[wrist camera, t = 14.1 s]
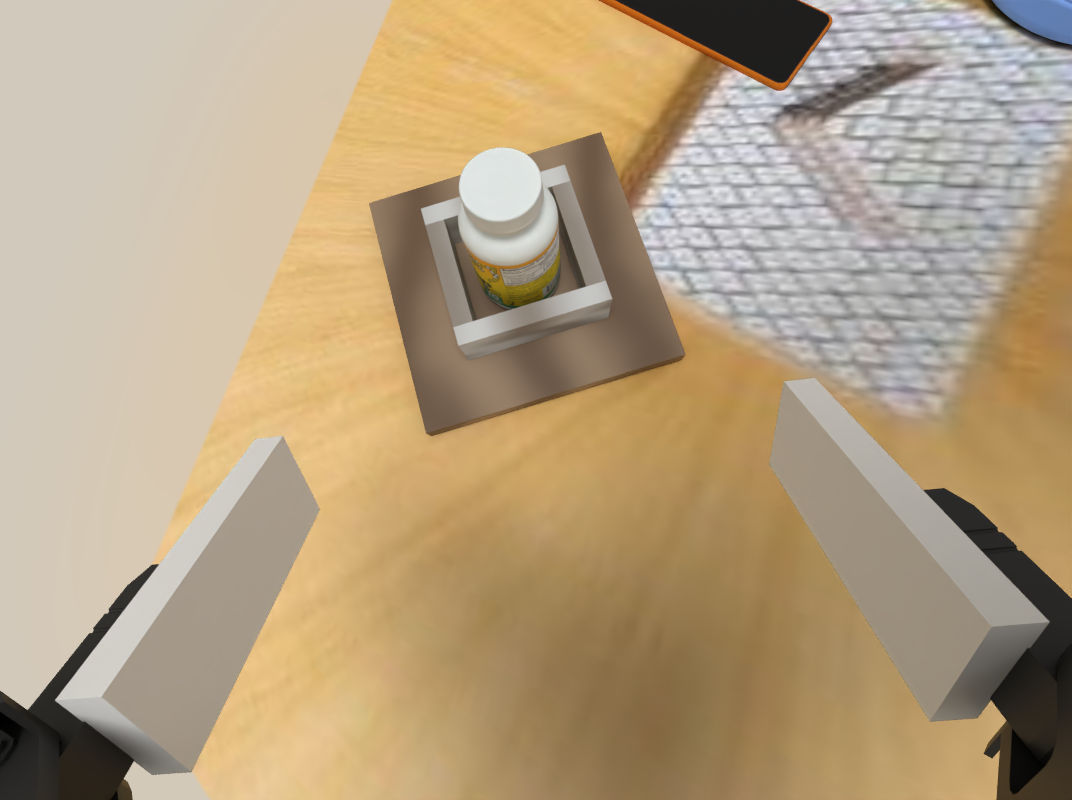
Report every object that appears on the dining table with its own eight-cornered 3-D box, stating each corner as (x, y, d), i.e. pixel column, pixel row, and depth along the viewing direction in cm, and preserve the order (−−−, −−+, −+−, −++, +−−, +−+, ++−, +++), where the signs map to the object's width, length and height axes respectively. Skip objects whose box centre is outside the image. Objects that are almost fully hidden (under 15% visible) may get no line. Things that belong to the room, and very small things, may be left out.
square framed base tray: (599, 144, 36) (603, 97, 31) (681, 359, 32) (697, 338, 28) (375, 213, 36) (350, 175, 32) (431, 435, 32) (411, 426, 28)
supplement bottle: (570, 300, 32) (570, 217, 23) (491, 323, 32) (459, 249, 23) (547, 228, 33) (539, 121, 24) (471, 251, 33) (433, 152, 24)
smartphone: (780, 97, 36) (785, 88, 35) (590, 2, 39) (590, -9, 38) (832, 24, 37) (838, 13, 36) (644, -64, 40) (645, -77, 39)
